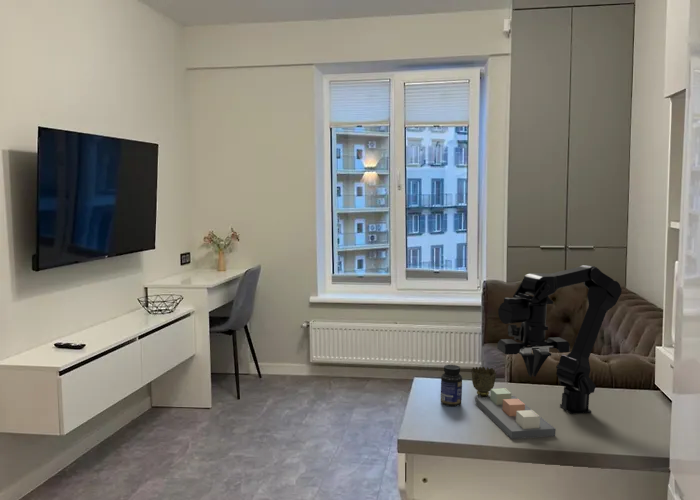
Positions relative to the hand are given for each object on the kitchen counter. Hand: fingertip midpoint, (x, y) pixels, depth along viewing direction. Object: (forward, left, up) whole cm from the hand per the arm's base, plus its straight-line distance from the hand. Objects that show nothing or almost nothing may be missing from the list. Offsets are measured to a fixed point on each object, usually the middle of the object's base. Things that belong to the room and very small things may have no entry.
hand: (532, 376), depth 167 cm
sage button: (+5, -8, -10) cm, 14 cm away
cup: (+6, -19, -12) cm, 23 cm away
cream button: (+5, +9, -10) cm, 14 cm away
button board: (+5, 0, -12) cm, 13 cm away
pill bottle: (+18, -14, -12) cm, 26 cm away
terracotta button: (+5, 0, -10) cm, 12 cm away
